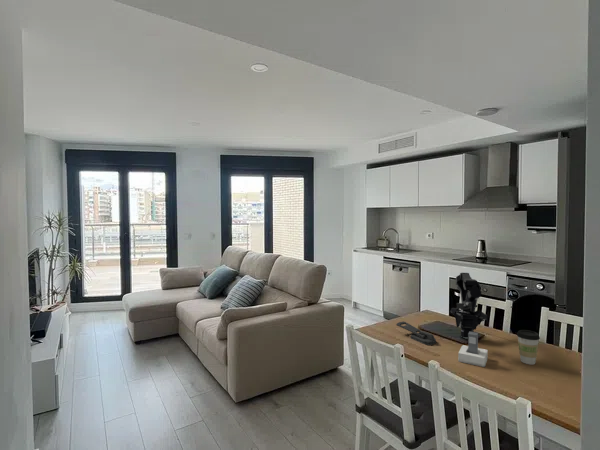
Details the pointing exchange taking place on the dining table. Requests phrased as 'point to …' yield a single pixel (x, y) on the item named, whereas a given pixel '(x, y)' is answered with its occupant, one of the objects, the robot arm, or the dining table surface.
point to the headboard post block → (473, 356)
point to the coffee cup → (528, 346)
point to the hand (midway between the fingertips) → (464, 328)
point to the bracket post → (473, 342)
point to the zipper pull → (418, 334)
